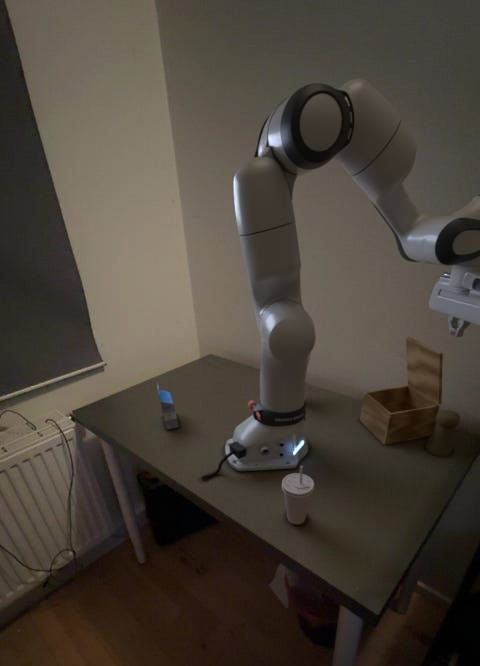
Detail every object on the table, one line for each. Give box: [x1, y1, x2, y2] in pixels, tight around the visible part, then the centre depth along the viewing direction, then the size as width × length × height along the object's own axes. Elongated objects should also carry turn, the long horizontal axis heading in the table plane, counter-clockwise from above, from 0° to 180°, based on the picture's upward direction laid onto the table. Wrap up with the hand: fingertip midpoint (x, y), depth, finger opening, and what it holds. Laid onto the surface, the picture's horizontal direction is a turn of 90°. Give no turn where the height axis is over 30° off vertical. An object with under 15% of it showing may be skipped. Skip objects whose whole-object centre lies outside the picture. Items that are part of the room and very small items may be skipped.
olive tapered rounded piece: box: [425, 409, 461, 457], centre depth 88 cm, size 6×6×11 cm
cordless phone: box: [156, 382, 179, 431], centre depth 107 cm, size 9×4×12 cm, turn 16°
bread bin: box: [359, 385, 441, 446], centre depth 98 cm, size 14×13×10 cm
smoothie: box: [281, 465, 315, 525], centre depth 70 cm, size 6×6×14 cm
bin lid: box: [405, 336, 444, 406], centre depth 92 cm, size 15×13×1 cm
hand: (455, 335), depth 89 cm, fingers closed
